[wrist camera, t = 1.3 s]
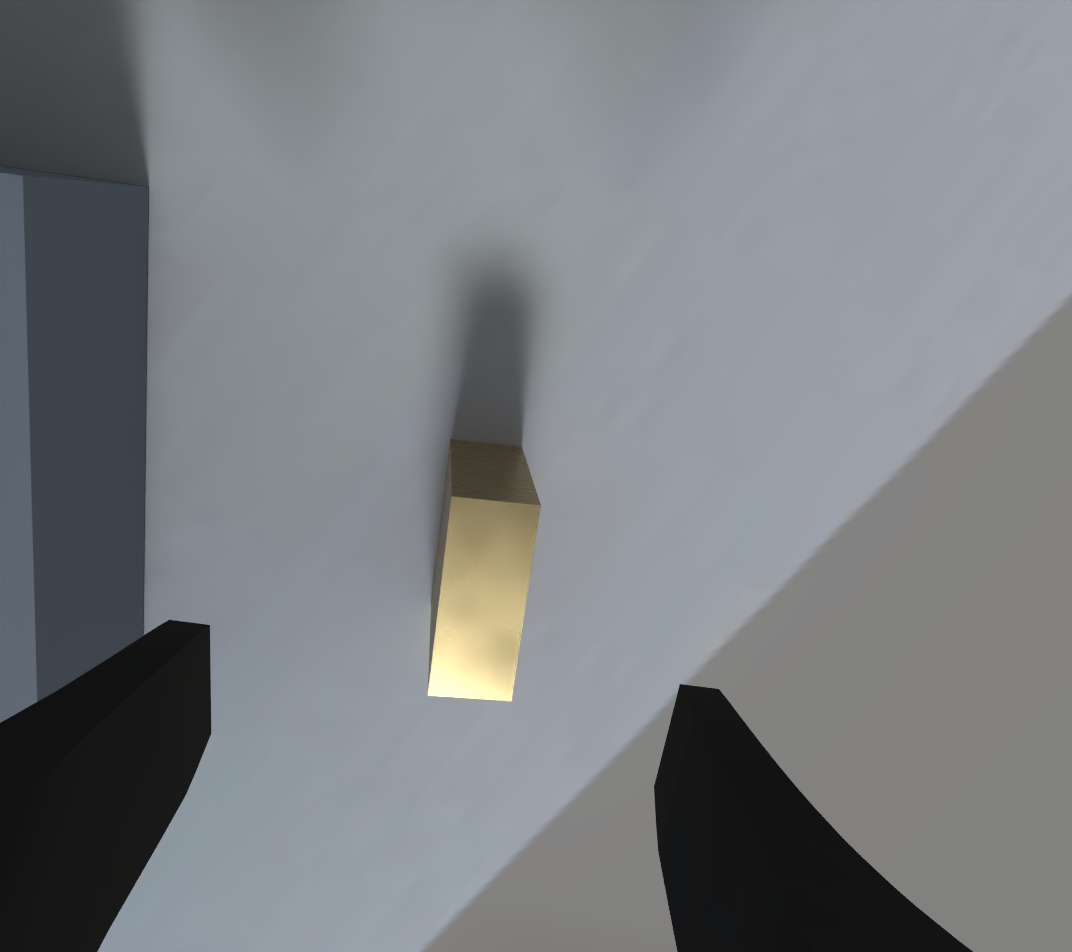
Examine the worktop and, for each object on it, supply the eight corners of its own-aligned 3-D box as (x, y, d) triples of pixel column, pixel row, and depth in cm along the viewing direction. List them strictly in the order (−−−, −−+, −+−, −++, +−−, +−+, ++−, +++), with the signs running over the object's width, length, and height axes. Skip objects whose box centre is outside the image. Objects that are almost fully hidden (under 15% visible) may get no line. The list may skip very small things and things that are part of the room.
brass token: (498, 609, 25) (511, 701, 20) (431, 603, 25) (427, 695, 20) (521, 447, 24) (540, 505, 19) (450, 438, 23) (451, 496, 19)
